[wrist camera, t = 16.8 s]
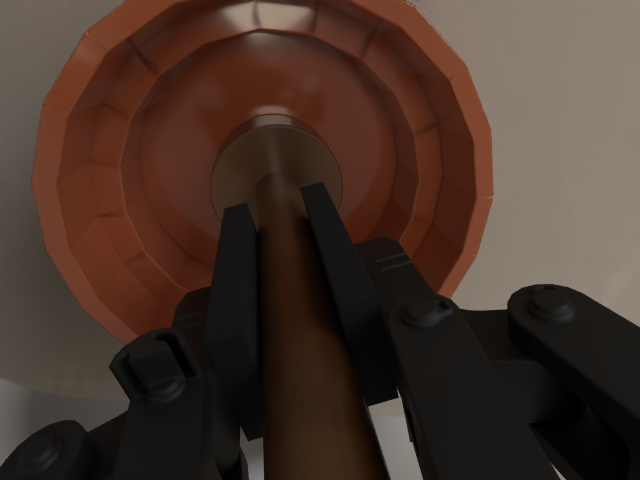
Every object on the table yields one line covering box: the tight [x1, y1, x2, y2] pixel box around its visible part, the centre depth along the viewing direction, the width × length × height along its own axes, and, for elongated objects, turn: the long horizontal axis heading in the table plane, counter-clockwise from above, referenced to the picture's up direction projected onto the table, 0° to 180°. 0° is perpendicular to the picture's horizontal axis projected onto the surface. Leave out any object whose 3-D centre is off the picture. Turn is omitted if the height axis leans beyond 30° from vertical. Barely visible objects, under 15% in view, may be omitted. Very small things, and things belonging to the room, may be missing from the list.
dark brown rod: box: [210, 115, 391, 480], centre depth 11 cm, size 6×6×18 cm
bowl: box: [31, 0, 493, 345], centre depth 17 cm, size 15×15×6 cm
